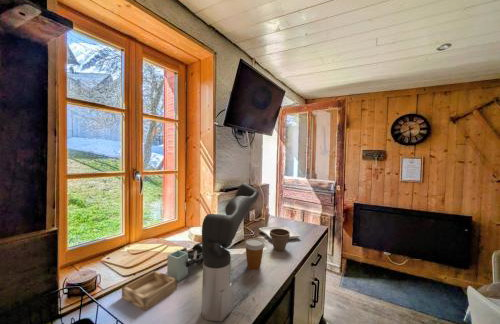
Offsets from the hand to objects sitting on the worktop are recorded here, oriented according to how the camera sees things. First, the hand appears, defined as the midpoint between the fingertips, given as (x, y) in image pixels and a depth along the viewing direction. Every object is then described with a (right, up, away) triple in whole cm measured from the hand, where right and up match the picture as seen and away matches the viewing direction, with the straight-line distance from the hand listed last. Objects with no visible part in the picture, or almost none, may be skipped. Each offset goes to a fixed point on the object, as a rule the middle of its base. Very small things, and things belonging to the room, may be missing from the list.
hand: (179, 262), depth 97 cm
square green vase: (-1, -6, -1) cm, 6 cm away
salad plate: (+50, -6, +53) cm, 73 cm away
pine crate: (-7, -6, -12) cm, 16 cm away
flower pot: (+48, -7, +32) cm, 58 cm away
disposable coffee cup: (+33, -7, +10) cm, 35 cm away
